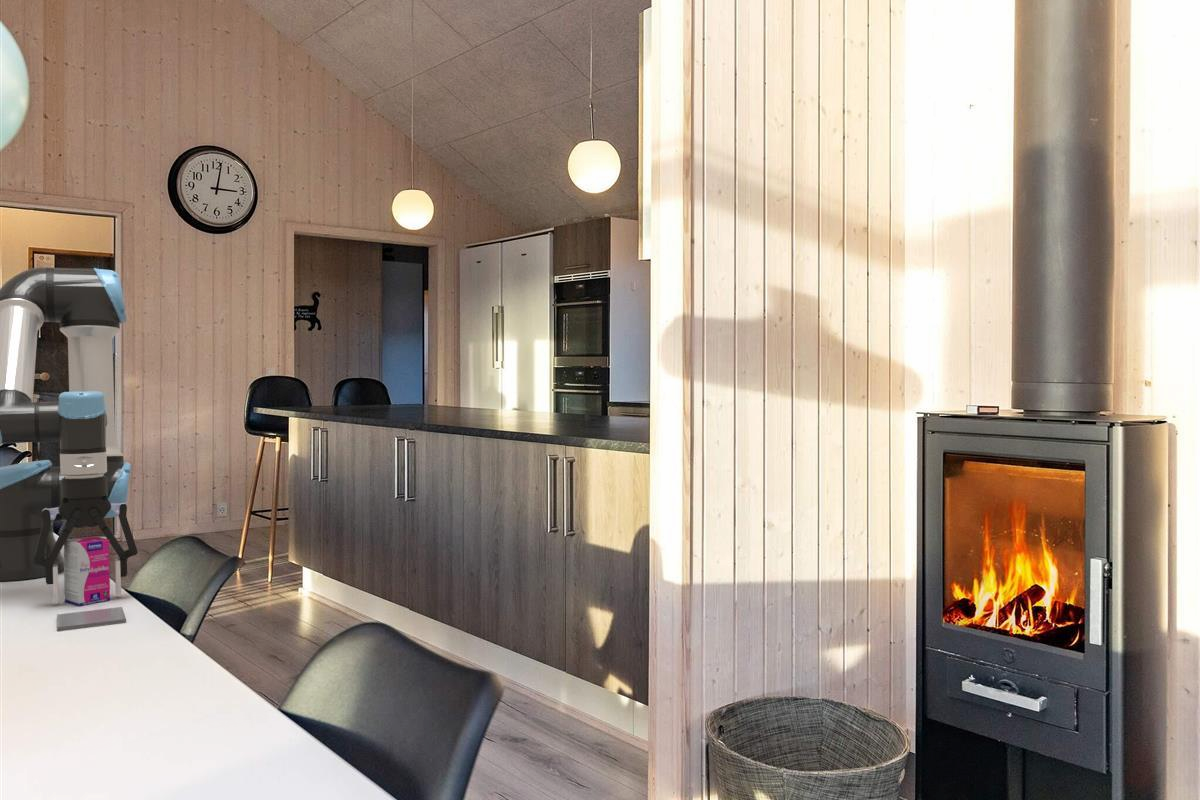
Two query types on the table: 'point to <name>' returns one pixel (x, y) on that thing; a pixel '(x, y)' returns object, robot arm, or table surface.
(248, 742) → the table surface
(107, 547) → the supplement box
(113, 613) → the slate coaster
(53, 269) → the robot arm
